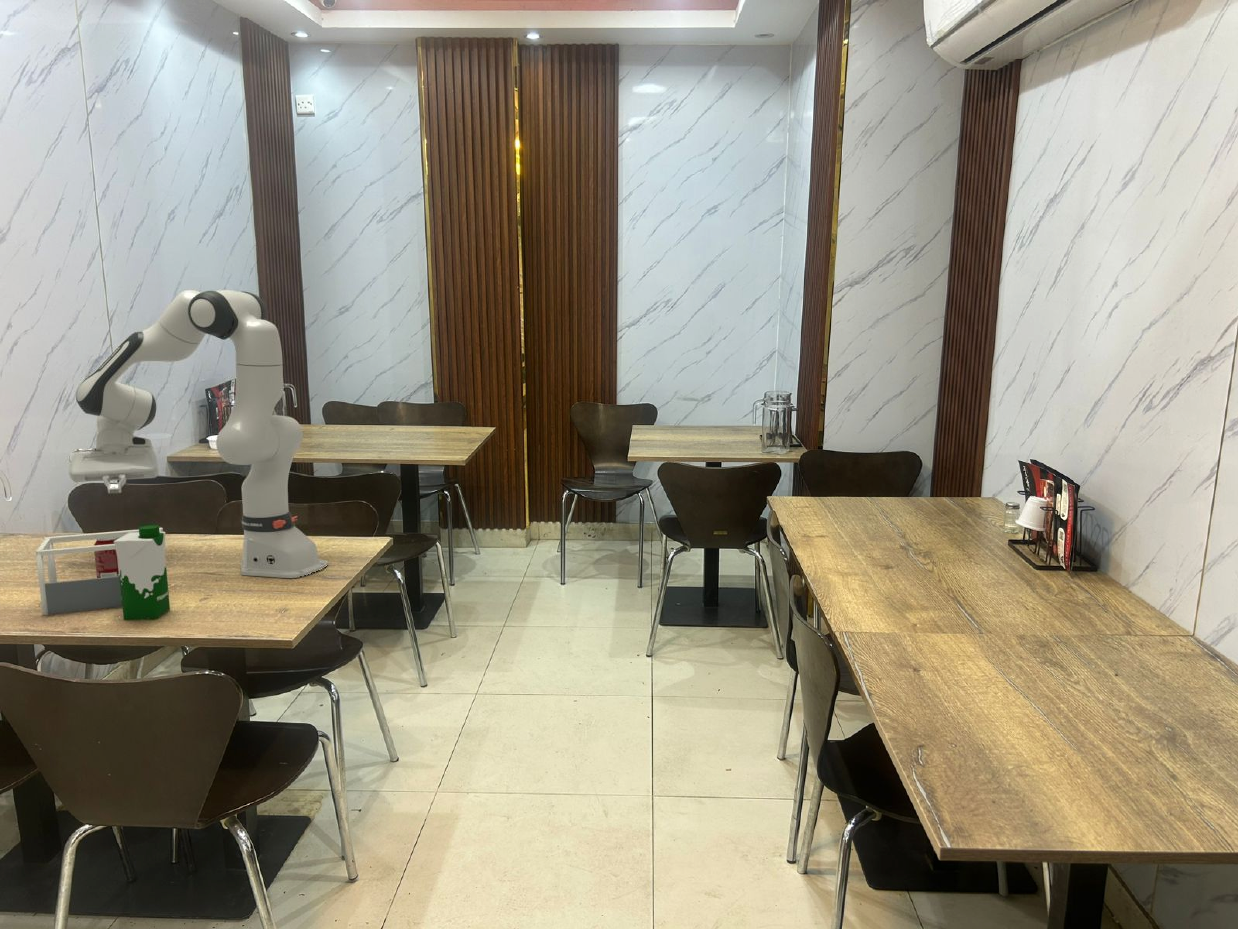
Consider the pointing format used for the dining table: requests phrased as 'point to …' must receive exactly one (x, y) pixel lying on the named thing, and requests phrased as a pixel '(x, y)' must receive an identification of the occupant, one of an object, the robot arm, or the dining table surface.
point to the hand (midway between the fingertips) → (114, 491)
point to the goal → (77, 591)
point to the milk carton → (143, 573)
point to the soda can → (106, 559)
